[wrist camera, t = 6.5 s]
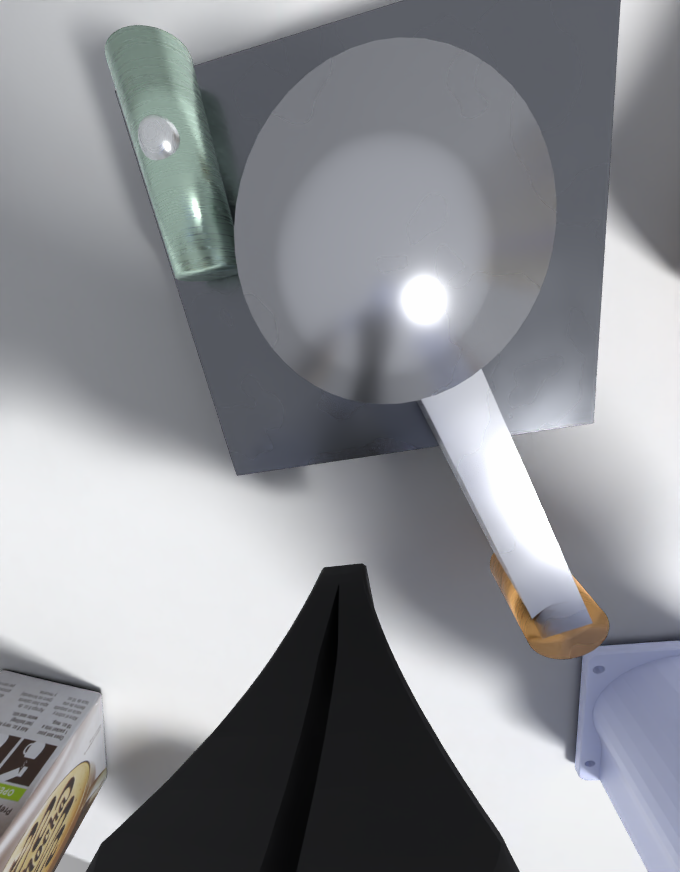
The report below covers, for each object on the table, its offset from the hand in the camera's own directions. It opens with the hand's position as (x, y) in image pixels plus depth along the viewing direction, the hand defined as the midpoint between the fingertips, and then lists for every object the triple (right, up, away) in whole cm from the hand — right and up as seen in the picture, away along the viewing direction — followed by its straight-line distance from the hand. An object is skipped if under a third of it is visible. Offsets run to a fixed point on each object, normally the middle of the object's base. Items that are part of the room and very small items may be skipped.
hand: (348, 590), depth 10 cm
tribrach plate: (+1, +10, 0) cm, 10 cm away
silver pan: (+3, +6, 0) cm, 6 cm away
